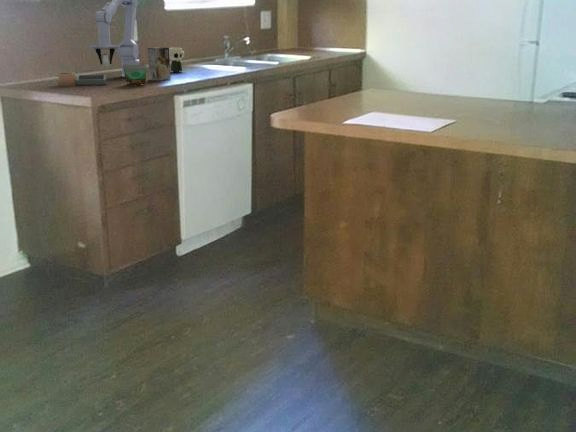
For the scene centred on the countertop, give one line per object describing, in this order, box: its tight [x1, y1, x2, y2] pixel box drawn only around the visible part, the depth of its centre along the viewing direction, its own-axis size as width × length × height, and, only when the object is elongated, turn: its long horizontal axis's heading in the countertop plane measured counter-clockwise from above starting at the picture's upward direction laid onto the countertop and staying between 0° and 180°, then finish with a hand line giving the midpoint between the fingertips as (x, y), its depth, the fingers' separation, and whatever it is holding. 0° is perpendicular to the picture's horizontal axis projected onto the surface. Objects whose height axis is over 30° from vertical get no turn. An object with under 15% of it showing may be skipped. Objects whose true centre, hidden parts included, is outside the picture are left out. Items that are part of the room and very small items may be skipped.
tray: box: [76, 74, 107, 86], centre depth 365 cm, size 14×20×2 cm
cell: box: [101, 52, 111, 68], centre depth 366 cm, size 4×4×7 cm
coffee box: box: [147, 46, 171, 81], centre depth 375 cm, size 9×6×16 cm
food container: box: [121, 63, 149, 86], centre depth 355 cm, size 12×6×10 cm, turn 117°
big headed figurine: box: [168, 47, 185, 73], centre depth 406 cm, size 11×7×13 cm, turn 129°
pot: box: [57, 71, 77, 87], centre depth 353 cm, size 8×8×6 cm
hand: (106, 64), depth 367 cm, fingers closed on cell, 4 cm apart
